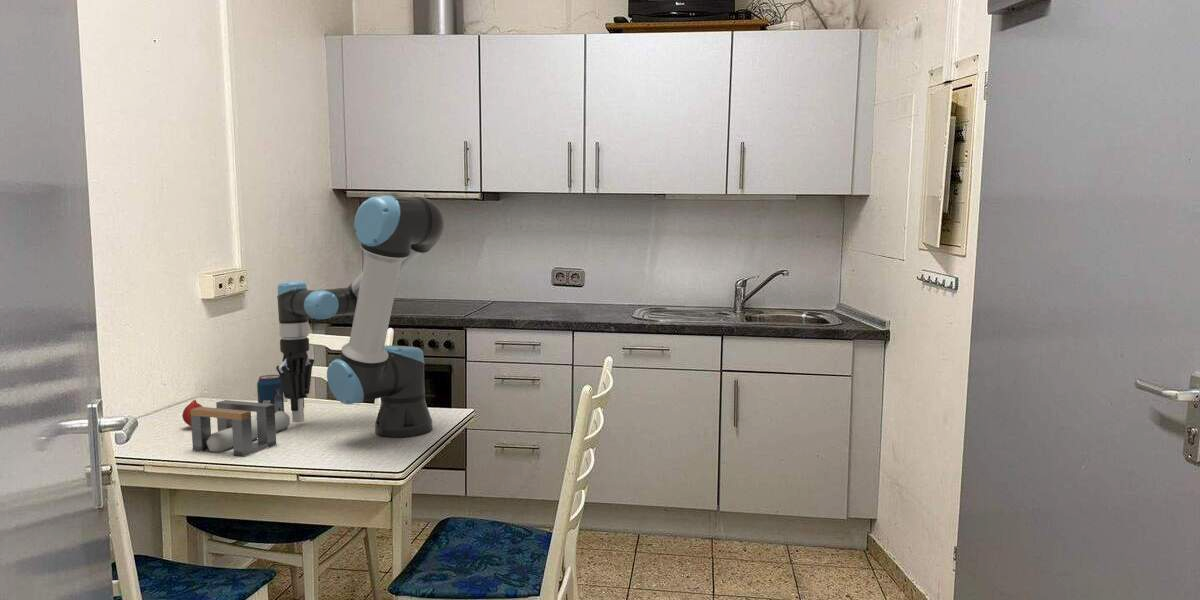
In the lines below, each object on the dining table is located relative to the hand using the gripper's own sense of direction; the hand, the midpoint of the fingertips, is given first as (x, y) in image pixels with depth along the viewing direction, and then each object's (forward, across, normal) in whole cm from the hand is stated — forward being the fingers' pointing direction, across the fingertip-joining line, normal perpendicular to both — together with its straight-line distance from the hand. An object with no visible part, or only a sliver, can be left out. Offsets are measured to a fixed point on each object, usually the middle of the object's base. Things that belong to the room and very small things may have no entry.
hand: (298, 421), depth 220 cm
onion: (+1, +10, -26) cm, 28 cm away
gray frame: (+1, +23, -1) cm, 23 cm away
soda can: (+2, -7, -15) cm, 16 cm away
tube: (+2, +16, -3) cm, 16 cm away
